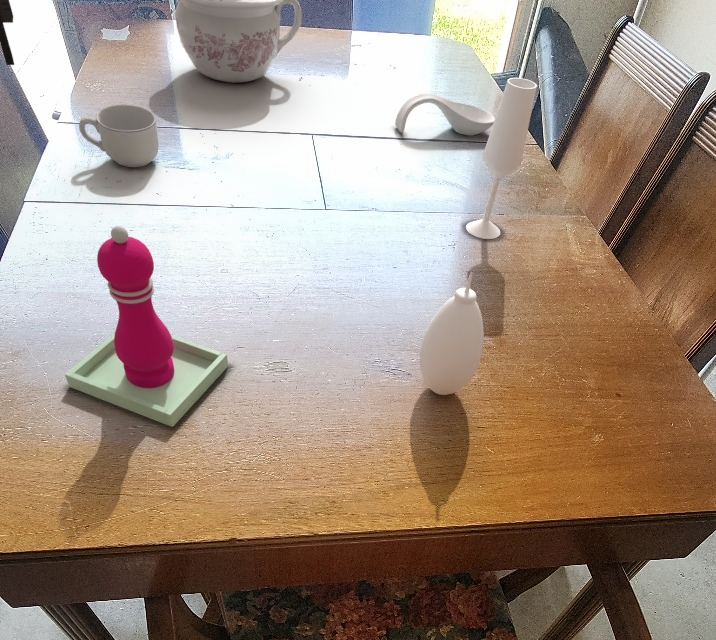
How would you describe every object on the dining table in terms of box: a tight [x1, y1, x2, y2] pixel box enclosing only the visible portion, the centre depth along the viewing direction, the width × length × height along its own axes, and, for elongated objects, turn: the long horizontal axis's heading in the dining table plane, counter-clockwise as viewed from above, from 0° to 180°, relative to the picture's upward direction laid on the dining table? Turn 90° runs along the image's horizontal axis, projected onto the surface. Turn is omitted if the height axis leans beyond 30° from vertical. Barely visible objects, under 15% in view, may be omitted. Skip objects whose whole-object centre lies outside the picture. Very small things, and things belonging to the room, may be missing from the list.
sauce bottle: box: [419, 272, 485, 396], centre depth 78 cm, size 8×8×18 cm
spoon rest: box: [394, 92, 496, 136], centre depth 140 cm, size 24×12×7 cm, turn 105°
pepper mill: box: [96, 225, 174, 388], centre depth 73 cm, size 7×7×20 cm
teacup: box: [78, 103, 159, 168], centre depth 115 cm, size 14×11×8 cm
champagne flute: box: [465, 77, 538, 240], centre depth 105 cm, size 7×7×24 cm
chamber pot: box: [175, 0, 303, 84], centre depth 144 cm, size 28×28×21 cm
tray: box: [64, 331, 229, 428], centre depth 80 cm, size 16×14×2 cm
